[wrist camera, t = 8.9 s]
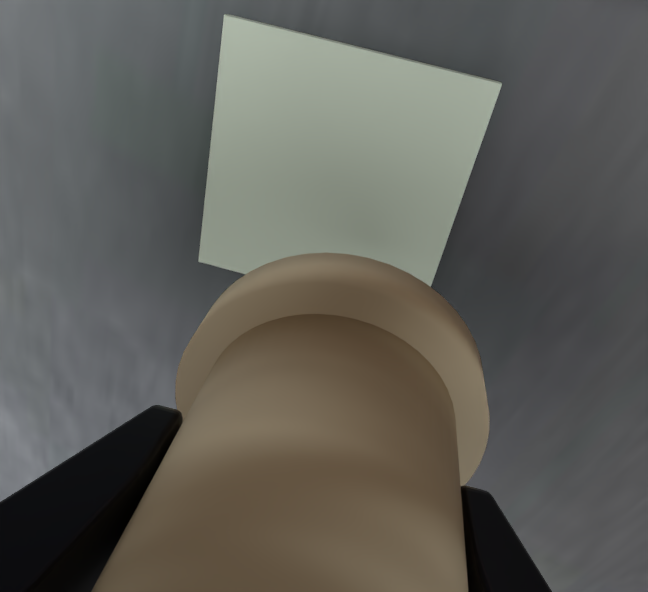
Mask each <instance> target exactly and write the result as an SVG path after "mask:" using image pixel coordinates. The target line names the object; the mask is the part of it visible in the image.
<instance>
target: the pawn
mask: <svg viewBox="0 0 648 592" xmlns="http://www.w3.org/2000/svg"><path fill="white" fill-rule="evenodd" d="M175 399H176V405H177V410H179V411H180V412H181V413H182V416H183V422H182V425H181V426H180V428H179V430H178V432H177V434H176V436H175V438H174V439H173V441H172V443H171V445H170V447H169V449H168V450H167V452H166V454H165V456H164V458H163V460H162V462H161V463H160V465H159V467H158V469H157V471H156V473H155V474H154V476H153V478H152V480H151V482H150V484H149V486H148V487H147V489H146V491H145V493H144V495H143V497H142V498H141V500H140V502H139V504H138V506H137V508H136V510H135V511H134V513H133V515H132V517H131V519H130V521H129V523H128V524H127V526H126V528H125V530H124V532H123V534H122V535H121V537H120V539H119V541H118V543H117V545H116V547H115V548H114V550H113V552H112V554H111V556H110V558H109V559H108V561H107V563H106V565H105V567H104V569H103V571H102V572H101V574H100V576H99V578H98V580H97V582H96V583H95V585H94V587H93V589H92V591H91V592H469V591H468V578H467V565H466V552H465V538H464V525H463V512H462V499H461V486H464V485H465V484H466V483H467V482H468V481H469V480H470V478H471V477H472V476H473V474H474V472H475V471H476V469H477V467H478V466H479V464H480V462H481V460H482V457H483V454H484V452H485V449H486V446H487V440H488V435H489V408H488V402H487V395H486V389H485V382H484V376H483V369H482V363H481V358H480V355H479V352H478V349H477V346H476V343H475V340H474V338H473V337H472V335H471V333H470V331H469V329H468V327H467V325H466V324H465V322H464V321H463V320H462V318H461V317H460V315H459V314H458V313H457V311H456V310H455V309H454V308H453V307H452V306H451V305H450V304H449V303H448V302H447V301H446V300H445V299H444V298H443V297H442V296H441V295H440V294H439V293H437V292H436V291H435V290H434V289H432V288H431V287H430V286H429V285H427V284H426V283H424V282H423V281H421V280H419V279H418V278H416V277H414V276H413V275H411V274H409V273H407V272H405V271H403V270H401V269H399V268H396V267H394V266H392V265H390V264H387V263H383V262H380V261H377V260H374V259H371V258H367V257H361V256H356V255H351V254H341V253H309V254H301V255H296V256H290V257H285V258H282V259H279V260H276V261H273V262H270V263H267V264H265V265H263V266H260V267H258V268H256V269H254V270H252V271H250V272H249V273H247V274H246V275H244V276H243V277H241V278H240V279H238V280H236V281H235V282H234V283H233V284H232V285H231V286H230V287H229V288H227V289H226V290H225V291H224V292H223V293H222V294H221V296H220V297H219V298H218V299H217V301H216V302H215V303H214V304H213V306H212V307H211V309H210V310H209V312H208V313H207V315H206V317H205V318H204V320H203V321H202V323H201V324H200V326H199V327H198V329H197V330H196V332H195V334H194V335H193V337H192V338H191V340H190V342H189V344H188V345H187V347H186V349H185V351H184V353H183V355H182V358H181V361H180V364H179V367H178V372H177V377H176V393H175Z"/></svg>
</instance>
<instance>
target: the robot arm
mask: <svg viewBox="0 0 648 592" xmlns="http://www.w3.org/2000/svg"><path fill="white" fill-rule="evenodd" d="M182 422H183V416H182V413H181V412H180V411H179V410H176V409H172V408H168V407H164V406H160V405H154V406H151V407H150V408H148V409H146V410H145V411H143V412H142V413H140V414H138V415H137V416H135V417H134V418H132V419H131V420H129V421H127V422H126V423H124V424H123V425H121V426H120V427H118V428H116V429H115V430H113V431H112V432H110V433H109V434H107V435H105V436H104V437H102V438H101V439H99V440H97V441H96V442H94V443H93V444H91V445H90V446H88V447H86V448H85V449H83V450H82V451H80V452H79V453H77V454H75V455H74V456H72V457H71V458H69V459H67V460H66V461H64V462H63V463H61V464H60V465H58V466H56V467H55V468H53V469H52V470H50V471H49V472H47V473H45V474H44V475H42V476H41V477H39V478H37V479H36V480H34V481H33V482H31V483H30V484H28V485H26V486H25V487H23V488H22V489H20V490H19V491H17V492H15V493H14V494H12V495H11V496H9V497H8V498H6V499H4V500H3V501H1V502H0V592H91V591H92V589H93V587H94V585H95V583H96V582H97V580H98V578H99V576H100V574H101V572H102V571H103V569H104V567H105V565H106V563H107V561H108V559H109V558H110V556H111V554H112V552H113V550H114V548H115V547H116V545H117V543H118V541H119V539H120V537H121V535H122V534H123V532H124V530H125V528H126V526H127V524H128V523H129V521H130V519H131V517H132V515H133V513H134V511H135V510H136V508H137V506H138V504H139V502H140V500H141V498H142V497H143V495H144V493H145V491H146V489H147V487H148V486H149V484H150V482H151V480H152V478H153V476H154V474H155V473H156V471H157V469H158V467H159V465H160V463H161V462H162V460H163V458H164V456H165V454H166V452H167V450H168V449H169V447H170V445H171V443H172V441H173V439H174V438H175V436H176V434H177V432H178V430H179V428H180V426H181V425H182ZM461 499H462V512H463V525H464V538H465V552H466V565H467V578H468V591H469V592H552V591H551V589H550V588H549V586H548V584H547V583H546V581H545V580H544V578H543V576H542V575H541V573H540V572H539V570H538V568H537V567H536V565H535V564H534V562H533V560H532V559H531V557H530V556H529V554H528V552H527V551H526V549H525V548H524V546H523V544H522V543H521V541H520V540H519V538H518V536H517V535H516V533H515V532H514V530H513V528H512V527H511V525H510V524H509V522H508V520H507V519H506V517H505V516H504V514H503V512H502V511H501V509H500V508H499V506H498V504H497V503H496V501H495V500H494V498H493V497H492V495H491V494H490V493H489V492H487V491H484V490H481V489H477V488H473V487H469V486H465V485H464V486H461Z"/></svg>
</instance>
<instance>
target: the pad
mask: <svg viewBox="0 0 648 592" xmlns="http://www.w3.org/2000/svg"><path fill="white" fill-rule="evenodd" d="M501 86H502V83H501V82H499V81H495V80H491V79H487V78H483V77H479V76H475V75H471V74H467V73H463V72H459V71H455V70H451V69H447V68H443V67H439V66H435V65H431V64H427V63H423V62H419V61H415V60H411V59H407V58H403V57H399V56H395V55H391V54H387V53H383V52H379V51H375V50H371V49H367V48H363V47H359V46H355V45H351V44H347V43H343V42H339V41H335V40H331V39H327V38H323V37H318V36H314V35H310V34H306V33H302V32H298V31H294V30H290V29H286V28H282V27H278V26H274V25H270V24H266V23H262V22H258V21H254V20H250V19H246V18H242V17H238V16H234V15H230V14H226V15H224V20H223V30H222V40H221V49H220V59H219V68H218V78H217V87H216V97H215V107H214V116H213V126H212V135H211V145H210V155H209V164H208V174H207V183H206V193H205V202H204V212H203V222H202V231H201V241H200V250H199V260H198V262H202V263H205V264H209V265H213V266H216V267H220V268H224V269H228V270H231V271H235V272H239V273H242V274H247V273H249V272H250V271H252V270H254V269H256V268H258V267H260V266H263V265H265V264H267V263H270V262H273V261H276V260H279V259H282V258H285V257H290V256H296V255H301V254H309V253H341V254H351V255H356V256H361V257H367V258H371V259H374V260H377V261H380V262H383V263H387V264H390V265H392V266H394V267H396V268H399V269H401V270H403V271H405V272H407V273H409V274H411V275H413V276H414V277H416V278H418V279H419V280H421V281H423V282H424V283H426V284H427V285H429V286H430V287H431V285H432V282H433V279H434V276H435V273H436V271H437V268H438V265H439V262H440V259H441V256H442V254H443V251H444V248H445V245H446V242H447V239H448V236H449V234H450V231H451V228H452V225H453V222H454V219H455V217H456V214H457V211H458V208H459V205H460V202H461V200H462V197H463V194H464V191H465V188H466V185H467V182H468V180H469V177H470V174H471V171H472V168H473V165H474V163H475V160H476V157H477V154H478V151H479V148H480V146H481V143H482V140H483V137H484V134H485V131H486V129H487V126H488V123H489V120H490V117H491V114H492V111H493V109H494V106H495V103H496V100H497V97H498V94H499V92H500V89H501Z"/></svg>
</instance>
